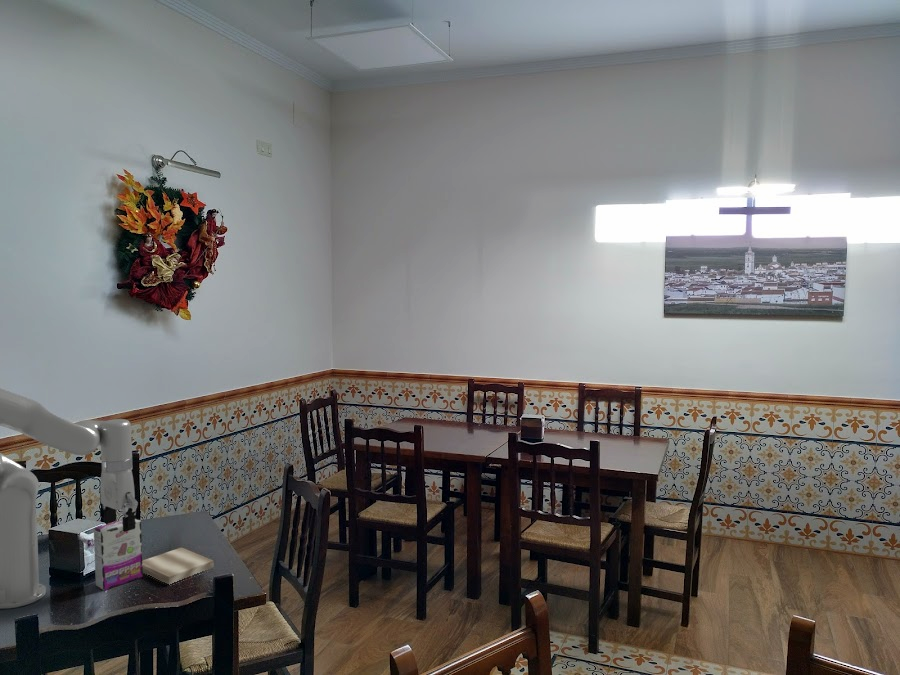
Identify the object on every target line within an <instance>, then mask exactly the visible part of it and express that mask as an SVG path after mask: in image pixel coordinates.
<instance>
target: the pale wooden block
mask: <svg viewBox="0 0 900 675" xmlns="http://www.w3.org/2000/svg"><path fill="white" fill-rule="evenodd" d="M214 562H215V560H213V559H210V558H209V557H206V556H205V555H204V556H203V555H201V554H198V553H197V552H194V551H192V550H190V549H187V548H184V547H182V546H181V547H178V548H176V549H172V550H170V551H167V552H163V553H160V554H158V555H155V556H152V557H149V558H146V559H142V565H143V566H142V567H143V574H144V573H145V574H144V575H146V574H147V575H146V576H148V575H150V576H152V577H154V578H156V579H158V580H160V581H162V582H165V583H167V584H169V585H170V584H172V583H174V582H177V581H179V580H182V579H184V578H187V577H189V576H192V575H194V574H197V573H200V572H202V571H205V570H208V569H211V568H213V567H214V566H215V564H214ZM214 568H215V567H214ZM150 576H149V577H150ZM152 577H151V578H152ZM154 578H153V579H154ZM156 579H155V580H156ZM158 580H157V581H158ZM160 581H159V582H160ZM162 582H161V583H162ZM170 586H171V585H170Z"/></svg>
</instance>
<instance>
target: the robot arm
mask: <svg viewBox="0 0 900 675" xmlns="http://www.w3.org/2000/svg"><path fill="white" fill-rule="evenodd" d="M0 426H1V427H4V428H7V429H10V430H12V431H15V432H17V433H20V434H23V435H24V436H26V437H27V438H30V439H32V440H35V441H37V442H38V443H41V444H43V445H46V446H48V447H51V448H53V449H56V450H59V451H62V452H65V453H69V454H71V455H75V456H76V455H77V456H88V455H89V454H91V453H93V452H94V451H96V449H97V448H98V447H99V446H100V454H101V456H100V458H101V459H100V461H101V473H100V474H101V475H100V488H99V489H100V491H99V492H100V494H99V495H100V497H99V499H100V503H101V505H102V509H103V522H104V525H107V524H111V523H114V522H117V511H120V510H121V512H122V515H123V517H122V520H123V531H124V532H126V531H129V530H133V529H135V518H136V514H137V512H138V511H137V510H138V509H137V508H138V505H139V502H138V501H137V499H135V497H136V496H135V484H134V476H133V471H132V470H133V467H134V466H133V446H132V445H133V444H132V440H133V439H132V424H131V422H130V421H129V420H128V419H124V418H116V419H113V418H112V419H107V420H92V419H87V420H79V421H77V422H75V423H74V422H72V421H69V420H66V419H64V418H61V417H59V416H57V415H56V414H53V413H52V412H50V411H49V410H48V409H46V408H45V407H44V406H43V405H42V404H41V403H40V402H39V401H36V400H34V399H31V398H28V397H25V396H23V395H20V394H17V393H13V392H12V391H8V390H7V389H3V388H1V387H0ZM39 483H40V482H39V480H38V478H37V476H36V475H35V474H34V473H33V472H32V471H31V470H28V468H26V467H24V466H22V465H21V464H19V463H18V462H16V461H15V460H13V459H11V458H10V457H8V456H6V455H5V454H3V453H2V452H0V610H2V609H5V610H6V609H13V608H21V607H24V606H27V605H30V604H33V603H35V602H37V601H39V600H40V599H41V598H43V597H44V596H45V595H46V593H47V588H46V586H45V585H44V584H42V583H40V582H39V581H40V580H39V577H40V576H39V574H40V572H39V548H38V547H39V545H38V544H39V543H38V541H39V540H38V522H37V497H38V493H39V489H40V484H39ZM127 509H128V510H127Z"/></svg>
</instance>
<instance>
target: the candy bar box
mask: <svg viewBox="0 0 900 675" xmlns="http://www.w3.org/2000/svg"><path fill="white" fill-rule="evenodd" d="M142 538H143V537H142V520H140V519H138V518H136V517H135V529H133V530H129V531H126V532H124V531H123V519H122V520H119V521H115V522H111V523H108V524H103V525H101V526H96V527H93V545H94V546H93V547H94V549H93V550H94V570H95V571H94V572H95V586H96V587H97V588H99V589H101V590H102V591H107V590H110V589H113V588H115V587H119V586H122V585H124V584H126V583H130V582H132V580H133V581H135V579H136V580H138V579H141V578H143V577H144V575H143V574H144V573H143V567H142V566H143V565H142V560H143V546H142V545H143V543H142V541H143V540H142Z"/></svg>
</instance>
